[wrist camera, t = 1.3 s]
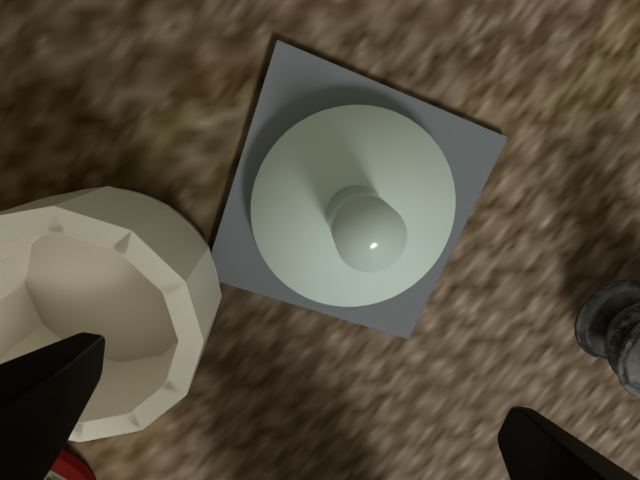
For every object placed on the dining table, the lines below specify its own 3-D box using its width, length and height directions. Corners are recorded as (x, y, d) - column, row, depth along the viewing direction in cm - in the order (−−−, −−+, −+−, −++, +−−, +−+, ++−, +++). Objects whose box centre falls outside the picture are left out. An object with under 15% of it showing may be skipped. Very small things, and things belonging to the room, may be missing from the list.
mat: (503, 137, 19) (508, 137, 19) (406, 335, 22) (408, 339, 22) (277, 41, 17) (277, 39, 17) (205, 274, 20) (203, 277, 20)
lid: (481, 149, 19) (544, 159, 14) (400, 319, 22) (431, 376, 17) (290, 71, 17) (290, 53, 12) (227, 266, 20) (208, 313, 15)
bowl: (245, 227, 20) (230, 261, 15) (192, 388, 22) (165, 460, 18) (31, 156, 18) (-64, 169, 13) (1, 340, 21) (-86, 406, 16)
